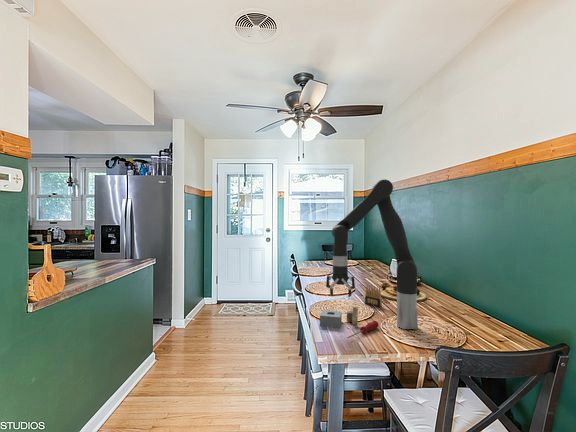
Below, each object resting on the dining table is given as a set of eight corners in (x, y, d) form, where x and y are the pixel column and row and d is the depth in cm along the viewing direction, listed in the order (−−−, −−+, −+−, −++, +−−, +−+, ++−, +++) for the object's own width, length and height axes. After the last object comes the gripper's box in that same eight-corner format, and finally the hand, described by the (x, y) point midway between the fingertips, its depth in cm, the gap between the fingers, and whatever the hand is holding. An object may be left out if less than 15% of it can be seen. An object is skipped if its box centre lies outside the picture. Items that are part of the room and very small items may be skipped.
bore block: (341, 320, 156) (341, 311, 156) (340, 327, 147) (340, 317, 147) (322, 319, 159) (322, 309, 159) (319, 325, 149) (319, 315, 149)
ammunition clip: (381, 307, 182) (381, 287, 182) (380, 307, 180) (380, 287, 181) (366, 303, 190) (366, 284, 190) (364, 303, 188) (364, 284, 188)
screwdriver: (343, 340, 131) (343, 332, 131) (372, 326, 149) (372, 319, 149) (350, 343, 128) (350, 335, 128) (379, 328, 146) (379, 321, 146)
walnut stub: (356, 319, 158) (356, 311, 158) (355, 322, 154) (355, 314, 154) (346, 319, 159) (347, 310, 159) (346, 322, 155) (346, 313, 155)
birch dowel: (357, 324, 152) (357, 306, 152) (357, 325, 149) (357, 307, 149) (352, 323, 152) (352, 306, 152) (352, 325, 150) (352, 307, 150)
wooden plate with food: (368, 292, 217) (368, 281, 217) (400, 288, 230) (401, 278, 230) (401, 305, 188) (402, 292, 188) (437, 300, 201) (437, 287, 201)
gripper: (354, 263, 154) (355, 295, 154) (327, 263, 157) (327, 294, 157) (354, 265, 147) (354, 299, 146) (325, 265, 150) (325, 297, 150)
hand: (340, 296), depth 152 cm, fingers open, 8 cm apart
